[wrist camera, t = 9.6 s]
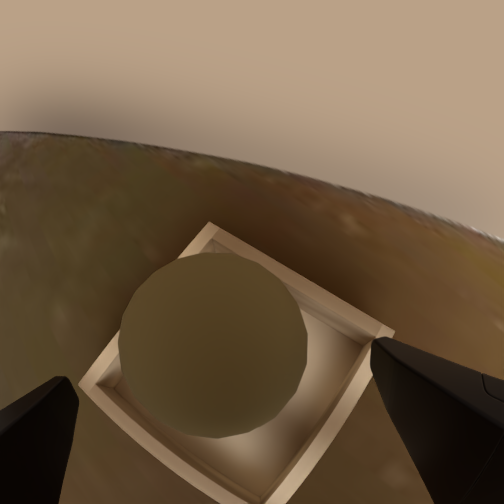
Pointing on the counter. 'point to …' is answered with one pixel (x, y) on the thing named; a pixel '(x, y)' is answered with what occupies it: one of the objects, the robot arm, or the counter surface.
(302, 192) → the counter surface
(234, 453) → the birch tray
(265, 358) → the olive pepper mill
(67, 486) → the counter surface
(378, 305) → the counter surface
